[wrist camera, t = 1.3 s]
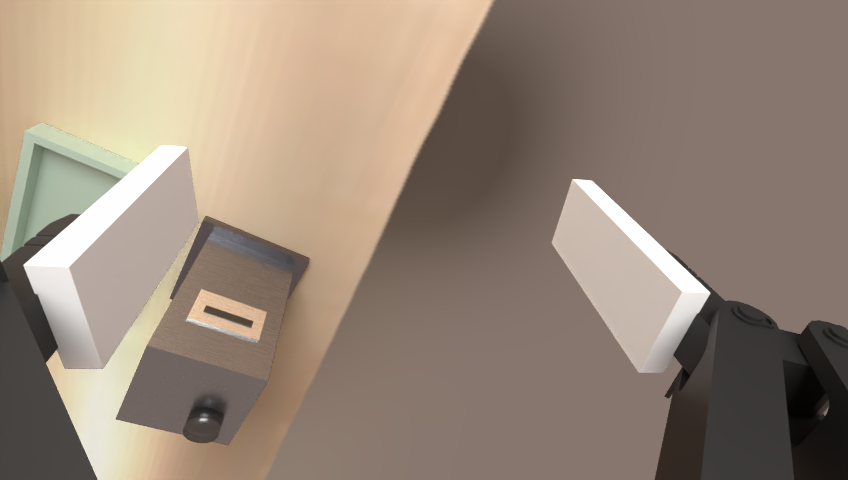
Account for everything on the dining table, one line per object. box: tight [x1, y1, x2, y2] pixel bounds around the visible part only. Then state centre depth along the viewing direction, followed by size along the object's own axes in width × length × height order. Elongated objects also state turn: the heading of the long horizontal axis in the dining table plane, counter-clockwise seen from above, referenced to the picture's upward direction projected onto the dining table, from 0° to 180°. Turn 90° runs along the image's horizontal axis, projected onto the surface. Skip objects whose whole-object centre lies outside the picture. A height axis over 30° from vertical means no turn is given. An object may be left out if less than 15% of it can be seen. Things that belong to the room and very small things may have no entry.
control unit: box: [116, 216, 309, 445], centre depth 37 cm, size 10×10×16 cm
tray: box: [0, 122, 139, 262], centre depth 38 cm, size 10×14×2 cm
